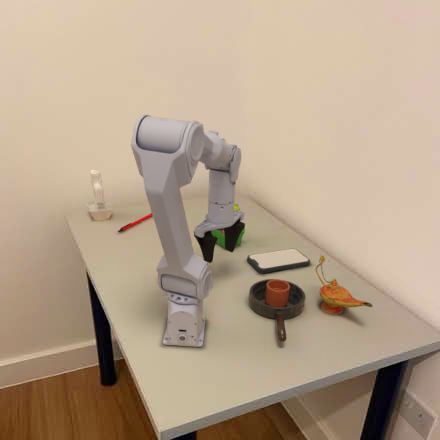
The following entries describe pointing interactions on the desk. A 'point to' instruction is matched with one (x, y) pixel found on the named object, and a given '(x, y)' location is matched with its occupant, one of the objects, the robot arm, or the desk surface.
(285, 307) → the pan
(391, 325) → the desk surface
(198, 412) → the desk surface
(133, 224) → the pen
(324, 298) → the magic lamp
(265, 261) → the phone case
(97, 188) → the figurine
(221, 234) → the fruit basket
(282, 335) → the pan handle
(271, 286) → the terracotta cup
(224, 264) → the desk surface
